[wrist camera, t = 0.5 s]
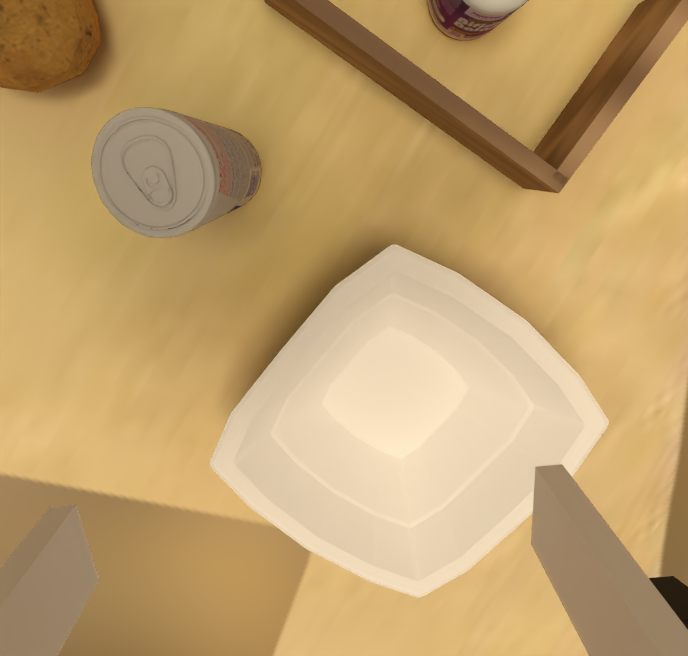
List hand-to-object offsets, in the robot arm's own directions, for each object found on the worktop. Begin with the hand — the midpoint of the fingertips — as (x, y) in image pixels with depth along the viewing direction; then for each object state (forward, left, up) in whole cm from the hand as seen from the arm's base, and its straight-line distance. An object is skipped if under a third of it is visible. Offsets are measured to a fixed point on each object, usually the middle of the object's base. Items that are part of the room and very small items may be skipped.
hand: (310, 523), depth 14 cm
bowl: (+10, +3, -26) cm, 28 cm away
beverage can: (-11, -4, -26) cm, 29 cm away
